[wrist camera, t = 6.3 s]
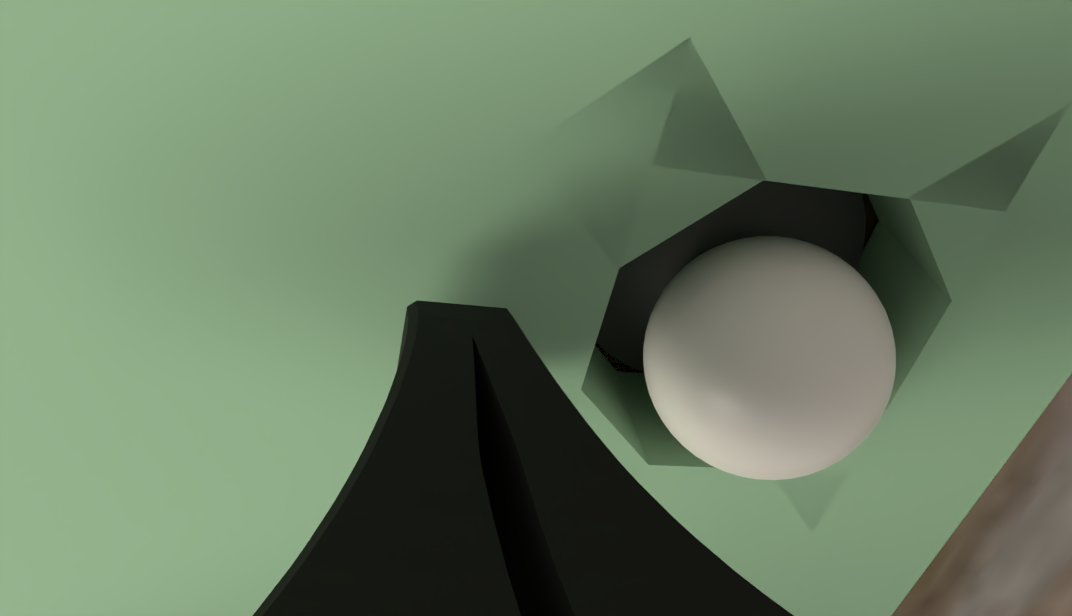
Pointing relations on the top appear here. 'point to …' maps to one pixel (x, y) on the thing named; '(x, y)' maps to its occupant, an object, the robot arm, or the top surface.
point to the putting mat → (499, 259)
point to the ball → (769, 358)
